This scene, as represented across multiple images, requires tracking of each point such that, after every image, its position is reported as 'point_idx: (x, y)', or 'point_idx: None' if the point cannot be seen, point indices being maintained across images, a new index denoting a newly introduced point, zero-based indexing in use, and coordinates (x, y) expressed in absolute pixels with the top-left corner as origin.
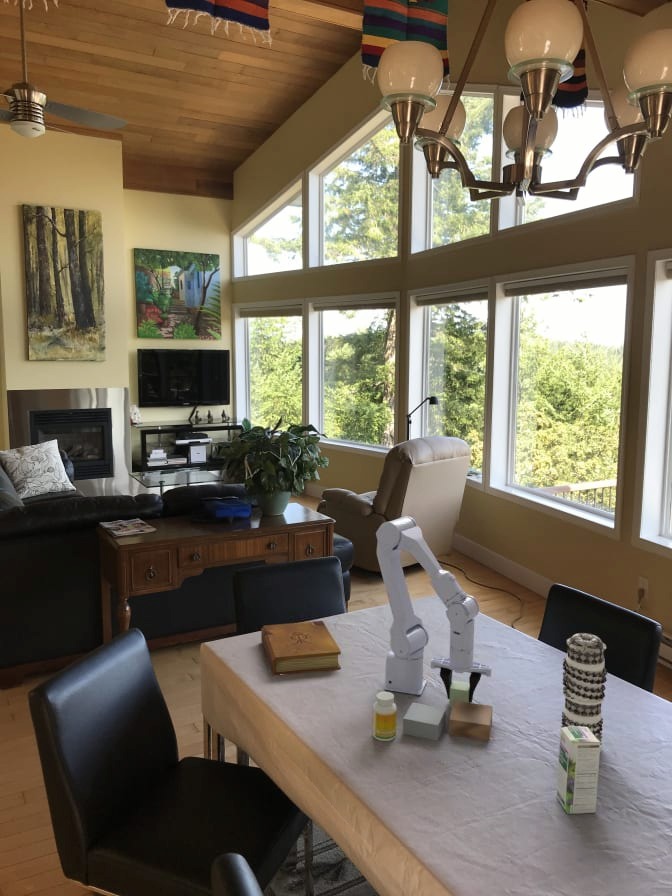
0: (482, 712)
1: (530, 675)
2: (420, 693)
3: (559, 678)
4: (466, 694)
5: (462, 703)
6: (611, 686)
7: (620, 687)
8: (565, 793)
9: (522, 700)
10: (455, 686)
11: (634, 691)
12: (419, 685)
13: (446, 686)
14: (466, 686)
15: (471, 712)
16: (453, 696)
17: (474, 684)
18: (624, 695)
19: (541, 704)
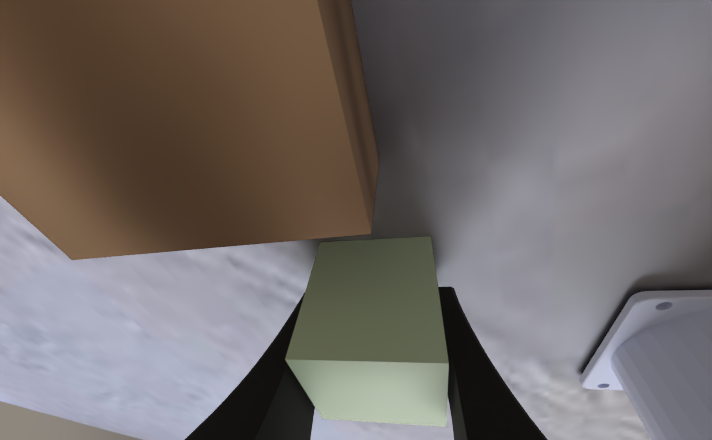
0: (8, 127)
1: None
2: (641, 302)
3: (192, 426)
4: (307, 329)
5: (275, 215)
6: (92, 417)
7: (78, 416)
8: None
9: (185, 352)
10: (406, 385)
11: (48, 411)
12: (657, 355)
13: (484, 376)
14: (329, 394)
15: (65, 59)
16: (408, 300)
17: (210, 434)
18: (43, 401)
19: (124, 347)
